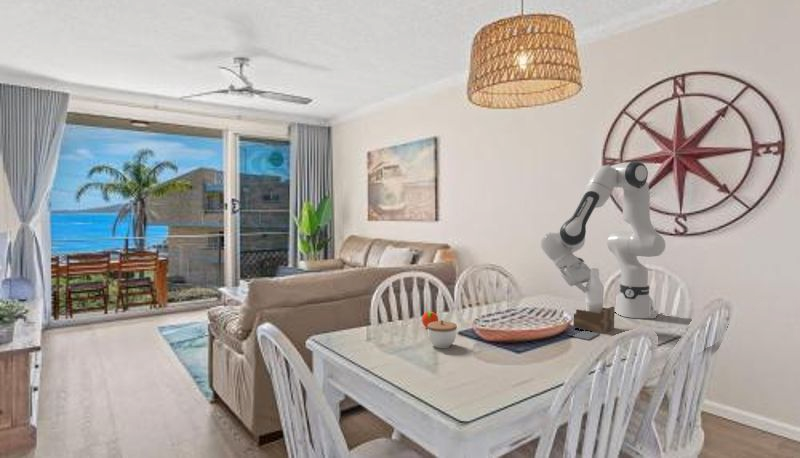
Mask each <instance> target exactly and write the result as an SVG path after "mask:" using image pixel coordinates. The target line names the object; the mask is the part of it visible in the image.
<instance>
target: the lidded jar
mask: <svg viewBox="0 0 800 458" xmlns="http://www.w3.org/2000/svg"><path fill="white" fill-rule="evenodd" d="M427 327H428V328H427ZM427 327H426V328H427V335H428V340H429V341H430V343H431V344H432V345H433V347H435V348H438V349H447V348H450V347H451V345H453V344H454V342H455V340H456V338H457V323H455V322H451V321H445V320H444V319H440V321H439V320H438V321H436V322H431V323H429V324H428V325H427Z"/></svg>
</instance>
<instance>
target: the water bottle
mask: <svg viewBox="0 0 800 458" xmlns="http://www.w3.org/2000/svg"><path fill="white" fill-rule="evenodd" d="M590 269H591V274H590V275H591V277H590V279H589V281H588V282H586V284H585V287H586V288H587V289H588V291H587V292H586V293H584V294H585V296H584V297H585V298H584V299H585V300H584V302H585V310H586V311H591V312H597V313H601V311H602V308H604V307H603V306H604V303H605V302H604V293H605V292H604V291H605V289H604V288H605V287H604V285H603V282H602V281H601V279H600V271H599V270H600V269H599V268H590Z"/></svg>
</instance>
